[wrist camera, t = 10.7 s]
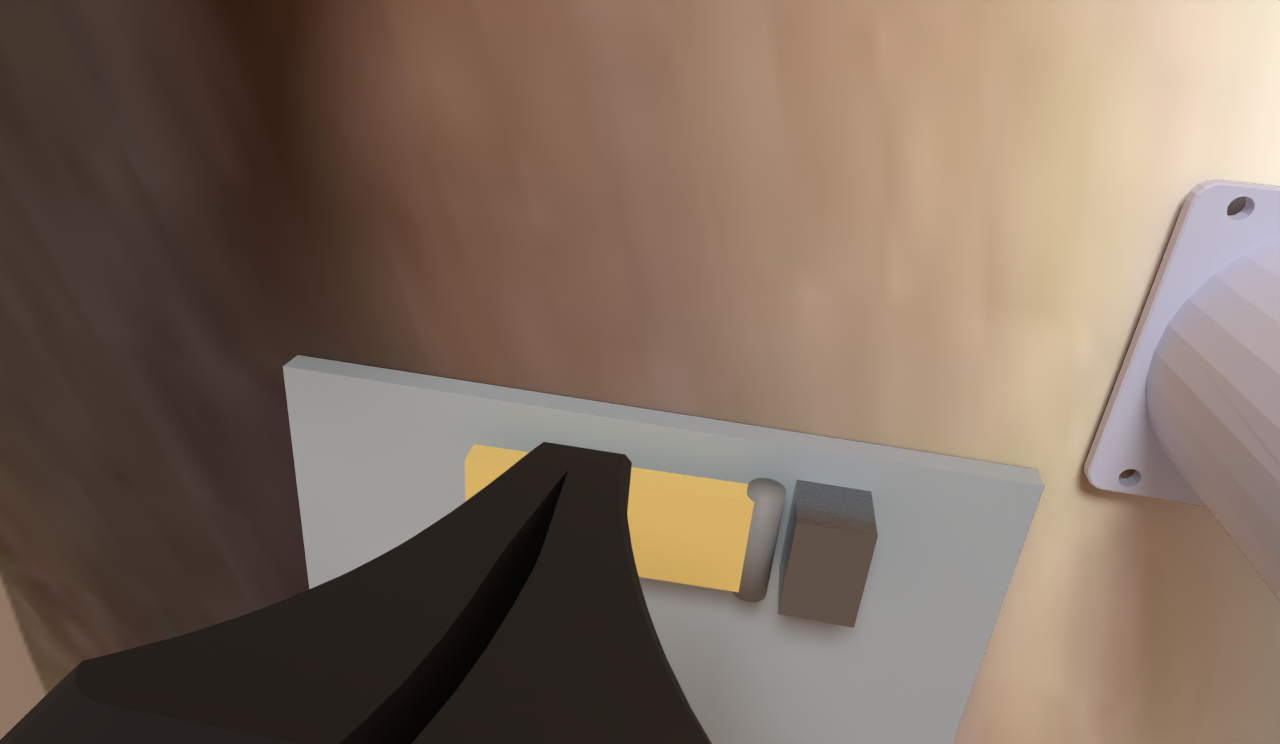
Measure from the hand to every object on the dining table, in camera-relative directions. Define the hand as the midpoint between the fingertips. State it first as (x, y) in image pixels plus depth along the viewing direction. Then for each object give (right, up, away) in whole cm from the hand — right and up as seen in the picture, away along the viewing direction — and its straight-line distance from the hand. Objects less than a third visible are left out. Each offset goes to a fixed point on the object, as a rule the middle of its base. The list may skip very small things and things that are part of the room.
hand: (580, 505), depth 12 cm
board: (0, -7, +15) cm, 16 cm away
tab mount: (+6, -2, +12) cm, 13 cm away
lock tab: (0, -2, +11) cm, 11 cm away
